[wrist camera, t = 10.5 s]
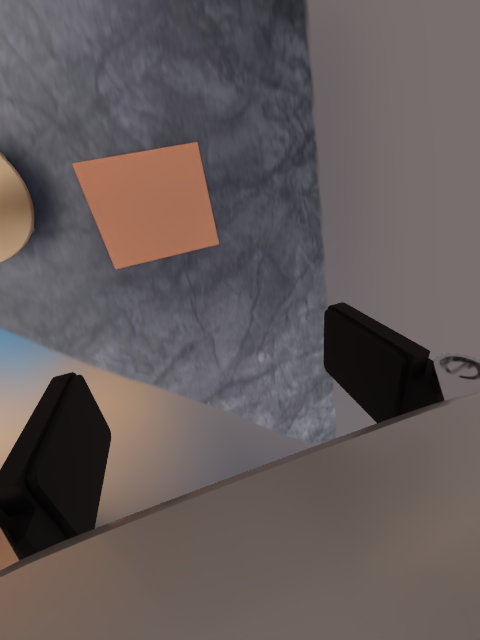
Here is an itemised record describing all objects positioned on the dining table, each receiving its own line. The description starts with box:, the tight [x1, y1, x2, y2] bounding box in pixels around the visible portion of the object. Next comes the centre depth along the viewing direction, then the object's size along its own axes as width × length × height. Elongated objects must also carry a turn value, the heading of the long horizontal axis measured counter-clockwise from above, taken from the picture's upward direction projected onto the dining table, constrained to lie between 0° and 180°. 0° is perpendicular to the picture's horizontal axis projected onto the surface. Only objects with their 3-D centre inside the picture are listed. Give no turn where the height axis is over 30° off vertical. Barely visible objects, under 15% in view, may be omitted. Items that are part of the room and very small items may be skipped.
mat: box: [72, 142, 219, 269], centre depth 33 cm, size 12×14×1 cm
